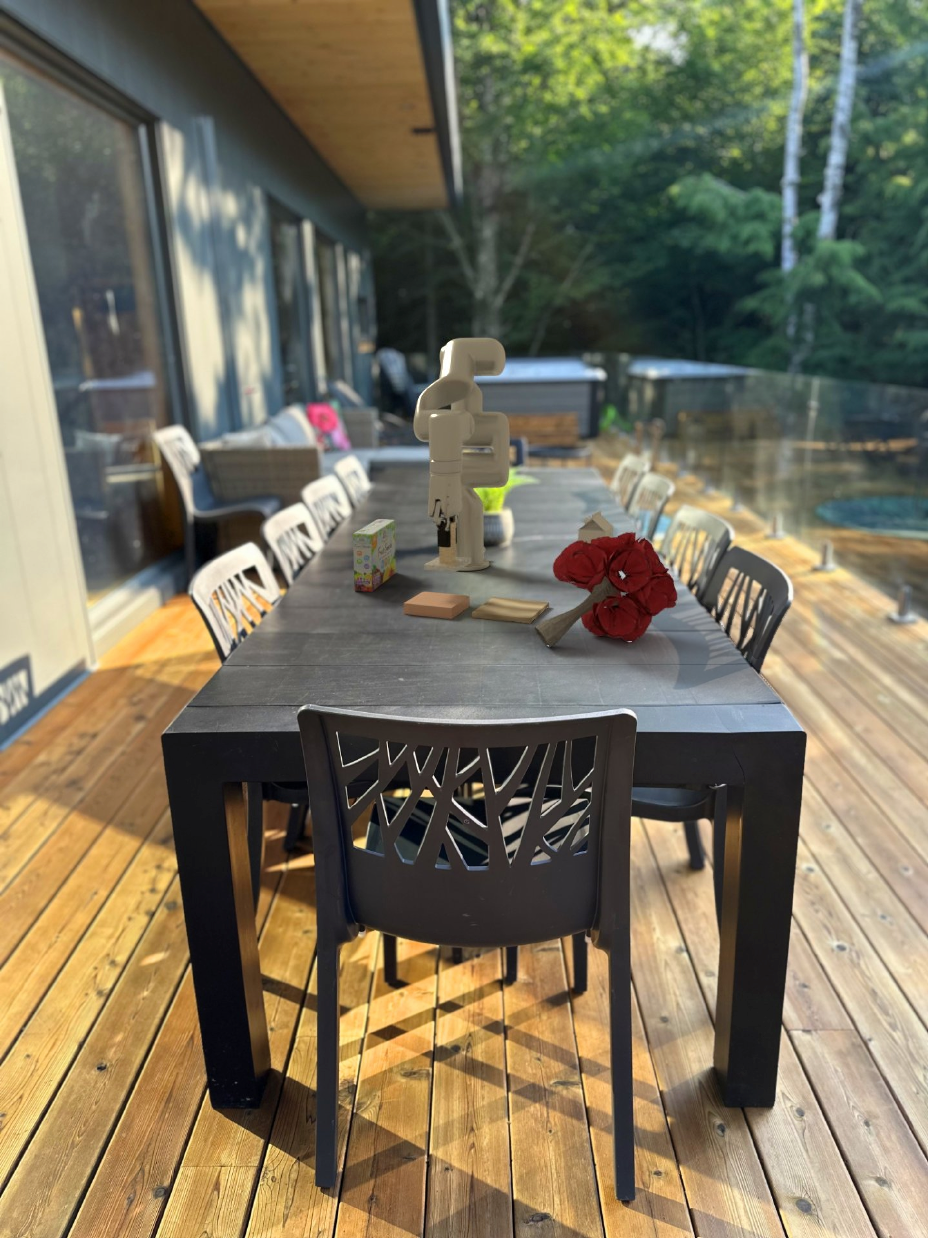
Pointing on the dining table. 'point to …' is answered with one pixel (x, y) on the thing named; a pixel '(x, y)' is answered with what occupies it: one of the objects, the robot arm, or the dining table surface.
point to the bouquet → (612, 588)
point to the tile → (437, 605)
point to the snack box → (374, 555)
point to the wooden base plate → (510, 610)
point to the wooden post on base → (448, 556)
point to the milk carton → (595, 528)
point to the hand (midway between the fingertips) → (447, 544)
